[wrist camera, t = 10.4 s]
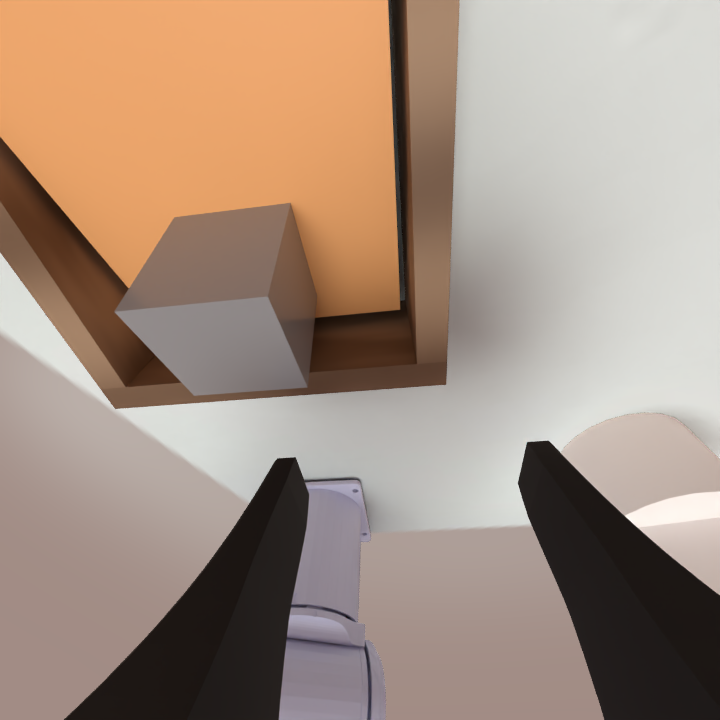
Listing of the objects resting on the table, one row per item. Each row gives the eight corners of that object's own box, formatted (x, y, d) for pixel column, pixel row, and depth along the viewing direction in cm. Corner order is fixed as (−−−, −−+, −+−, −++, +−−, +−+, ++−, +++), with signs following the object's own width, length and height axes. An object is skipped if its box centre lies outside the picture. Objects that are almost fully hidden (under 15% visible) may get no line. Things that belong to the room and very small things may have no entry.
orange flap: (398, 295, 17) (400, 309, 16) (172, 317, 18) (165, 331, 17) (380, -120, 7) (383, -125, 7) (-94, -19, 9) (-129, -15, 8)
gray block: (317, 296, 15) (307, 387, 12) (225, 305, 16) (193, 395, 13) (290, 202, 12) (267, 296, 9) (174, 217, 12) (114, 311, 9)
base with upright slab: (556, 498, 29) (651, 690, 19) (555, 427, 24) (681, 637, 14) (676, 479, 27) (848, 682, 17) (701, 400, 22) (961, 619, 12)
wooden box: (427, 317, 19) (446, 384, 14) (176, 340, 21) (115, 408, 16) (424, -113, 11) (470, -316, 6) (-9, -22, 12) (-275, -122, 7)
